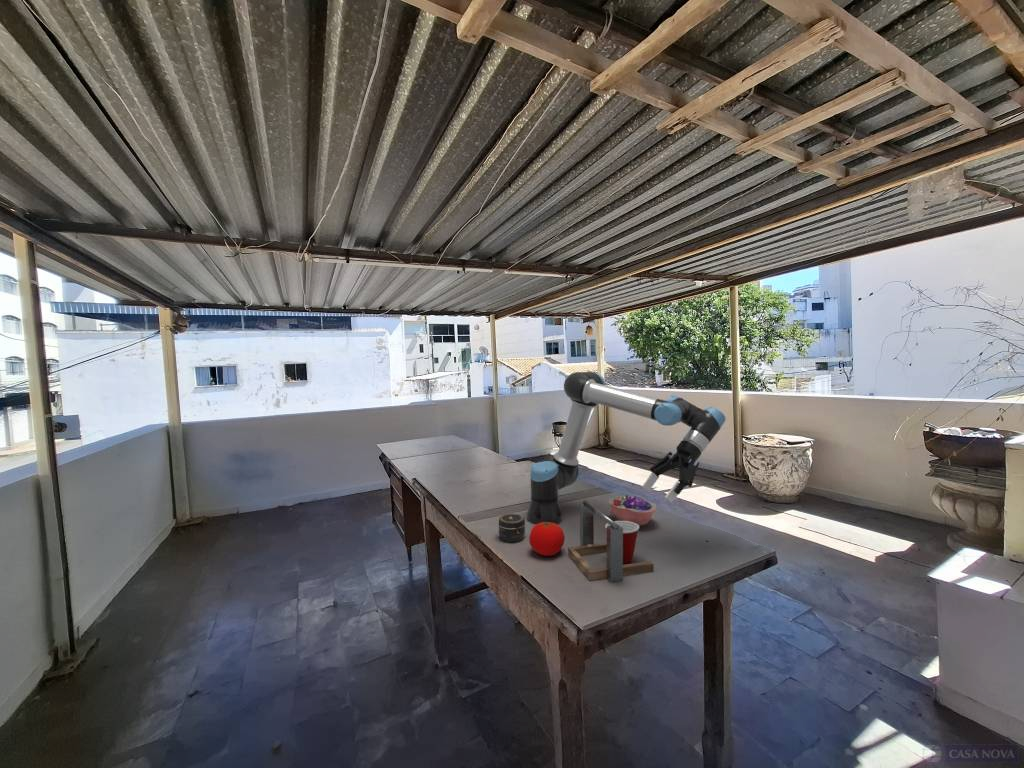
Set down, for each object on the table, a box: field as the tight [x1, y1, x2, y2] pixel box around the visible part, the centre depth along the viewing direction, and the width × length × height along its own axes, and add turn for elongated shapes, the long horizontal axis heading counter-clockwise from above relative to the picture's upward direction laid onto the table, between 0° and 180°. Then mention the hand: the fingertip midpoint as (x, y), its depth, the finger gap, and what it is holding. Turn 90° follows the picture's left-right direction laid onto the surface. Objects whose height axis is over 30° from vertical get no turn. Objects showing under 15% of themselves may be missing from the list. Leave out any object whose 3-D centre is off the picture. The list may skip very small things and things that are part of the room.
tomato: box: [528, 522, 566, 557], centre depth 134 cm, size 11×12×10 cm
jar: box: [498, 513, 526, 544], centre depth 147 cm, size 10×10×8 cm
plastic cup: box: [604, 520, 640, 565], centre depth 128 cm, size 11×11×12 cm
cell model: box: [608, 494, 657, 527], centre depth 160 cm, size 17×20×11 cm
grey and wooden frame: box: [567, 500, 655, 584], centre depth 127 cm, size 22×22×17 cm
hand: (655, 494), depth 131 cm, fingers open, 13 cm apart
